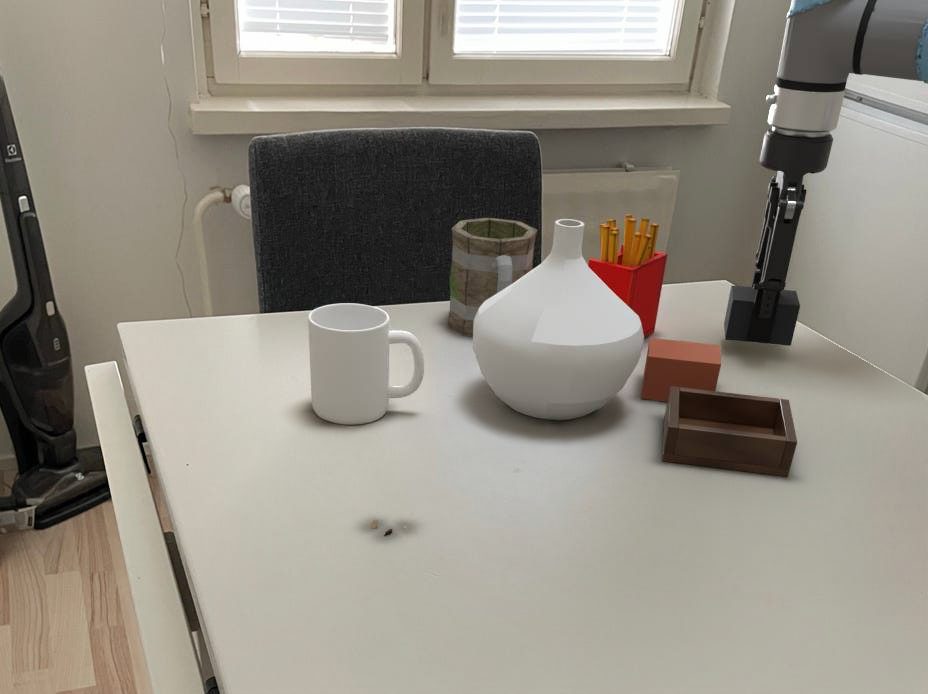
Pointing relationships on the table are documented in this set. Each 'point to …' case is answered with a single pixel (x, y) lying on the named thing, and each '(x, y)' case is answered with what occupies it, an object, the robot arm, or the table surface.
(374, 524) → the pale spotted flat piece
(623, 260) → the french fries container
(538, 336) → the vase
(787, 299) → the dark gray rectangular block
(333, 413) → the cup
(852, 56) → the robot arm
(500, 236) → the mug
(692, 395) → the frame
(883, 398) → the table surface
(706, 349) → the reddish brown rectangular block
